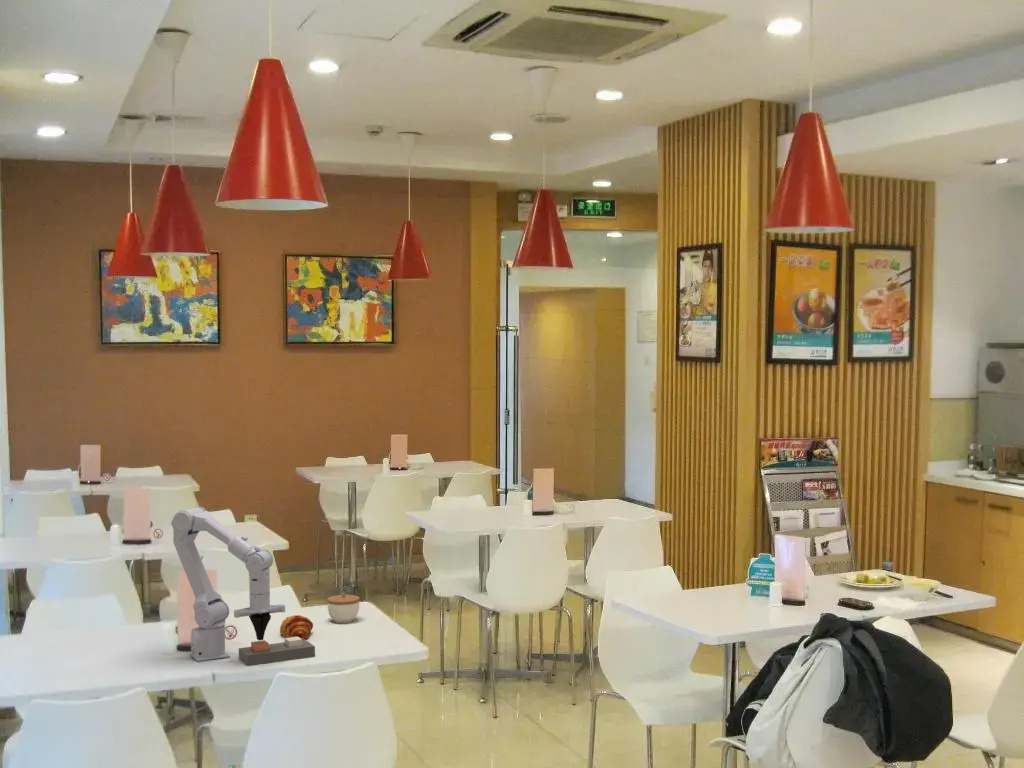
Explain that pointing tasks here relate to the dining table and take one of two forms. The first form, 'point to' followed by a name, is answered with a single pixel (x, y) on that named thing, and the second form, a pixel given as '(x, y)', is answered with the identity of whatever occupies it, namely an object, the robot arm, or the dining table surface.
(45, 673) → the dining table surface
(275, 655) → the key block
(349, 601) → the lidded jar
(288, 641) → the beige key
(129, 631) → the dining table surface
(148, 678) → the dining table surface
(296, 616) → the croissant
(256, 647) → the terracotta key
